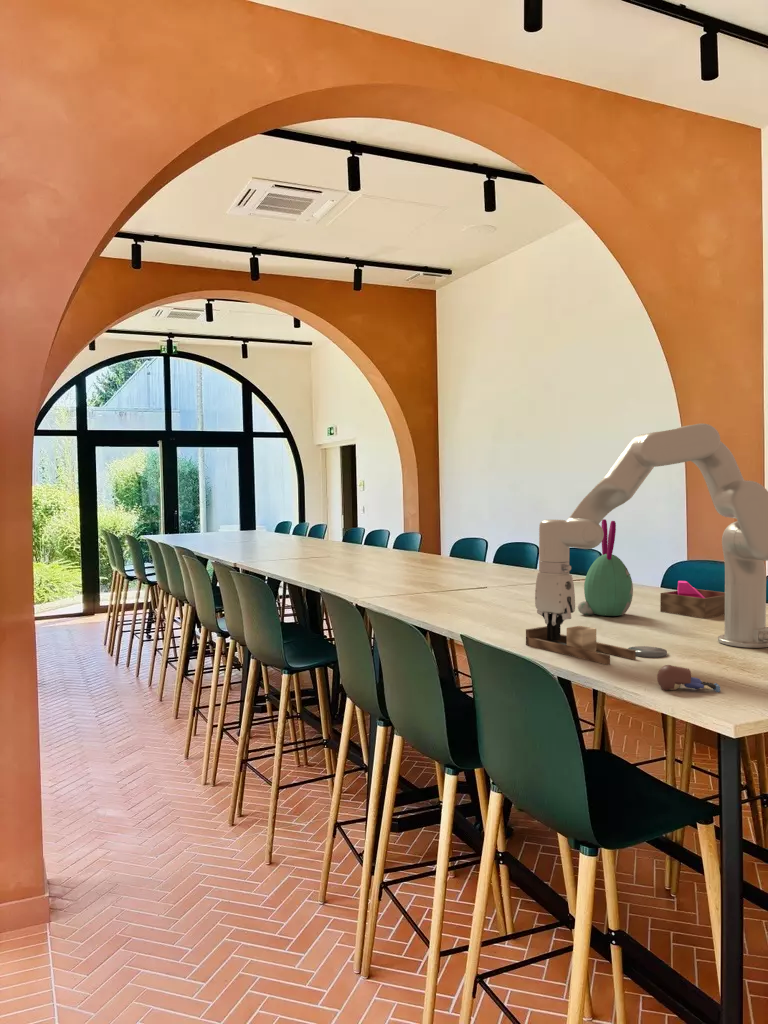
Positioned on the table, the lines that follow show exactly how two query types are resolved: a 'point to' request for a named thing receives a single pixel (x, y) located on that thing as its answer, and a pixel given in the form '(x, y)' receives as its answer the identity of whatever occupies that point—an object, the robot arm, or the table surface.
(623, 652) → the channel
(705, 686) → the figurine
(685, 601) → the display box
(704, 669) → the table surface
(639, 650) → the coaster
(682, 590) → the bracket
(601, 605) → the toy
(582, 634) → the block
